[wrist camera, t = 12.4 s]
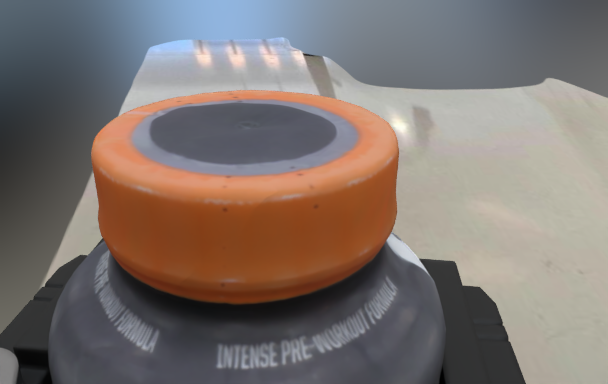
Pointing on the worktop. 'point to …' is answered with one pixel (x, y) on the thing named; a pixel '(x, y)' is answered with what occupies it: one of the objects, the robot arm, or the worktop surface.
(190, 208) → the pill bottle
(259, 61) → the worktop surface
